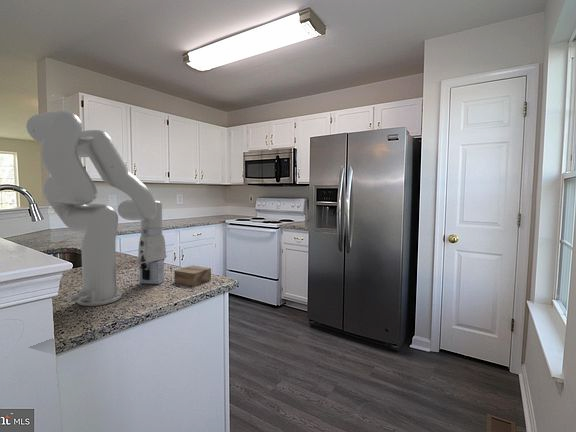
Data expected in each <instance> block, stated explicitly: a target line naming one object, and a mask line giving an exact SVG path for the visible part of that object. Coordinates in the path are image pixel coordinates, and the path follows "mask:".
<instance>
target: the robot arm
mask: <svg viewBox="0 0 576 432" xmlns="http://www.w3.org/2000/svg"><path fill="white" fill-rule="evenodd" d="M25 125H26V130H27V133H28V135H29V136H30V137H31V138H32V139H33V140H34V141H36V142H37V143H40V144H42V145H41V153H40V154H41V159H42V162H43V165H44V167H45V168H46V170H47V171H48V173H49V175H50V177H48V178H47V179H46V180H45V182H44V184H43V194H44V197H45V199H46V201H47V203H49V205H50V206H51V208H52V209H53V211H54V212H55V213H56V215H57V216H58V217H59V219H60V220H61V222H62V223H63V224H64V225H65V226H66V227H67V228H68V229H70V230H72V231H75V232H80V233H84V237H83V239H82V242H81V247H80V248H81V270H82V271H81V274H82V275H81V276H82V288H80V289H79V290H78V292H77V293H76V294H71V295H69V296H67V302H68V303H73V302H75V301H77V304H78V305H80V306H84V307H86V306H87V307H94V306H95V307H96V306H103V305H107V304H111V303H115V302H117V301H119V300H121V298H122V297H123V293H122V292H121V291H119V290H117V288H118V287H117V284H118V283H117V255H116V252H117V251H116V247H117V245H116V244H117V243H116V239H117V230H118V226H119V216H120V217H121V218H122V219H124V220H127V221H140V229H141V230H140V231H139V234H140V235H141V236H140V237H139V241H138V242H139V243H138V253H137V254H138V255H137V256H138V257H137V258H136V261H135V265H137V266H138V267H139V269H140V268H141V270H142V279H143V280H150V270H148V269H149V265H150V263H151V262H155V261H159V260H163V261H164V262H165V259H166V258H167V252H166V241H165V236H164V234H163V203H162V202H161V201H160V200H155V198H154V196H153V195H152V193H151V191H150V189H149V188H148V187H147V186H146V185H145V183H143V182H142V181H141V180H140V179H139V178H137V176H135V175H134V174H133V173H131V172H130V171H129V169H128V168H127V166H126V163H125V162H124V160H123V158H122V156H121V154H120V152H119V151H118V149H117V146H116V145H115V143H114V141H113V138H112V137H111V136H110V135H109V134H108V133H107V132H106V131H103V130H100V129H90V130H89V129H87V130H83V123H82V121H81V118H80V117H79V116H78V115H77V114H75V113H73V112H71V111H67V110H57V111H50V112H49V111H48V112H44V113H37V114H34V115H32V116H31V117H29V118H28V120H27V122H26V124H25ZM80 158H89V159H90V161H91V163H92V164H93V166H94V168H95V169H96V171H97V173H98V175H99V176H100V178H101V179H102V181H103V182H104V183H105V184H107V185H109V186H111V187H112V188H115V189H117V190H119V191H121V192H122V193H124V194H125V195H127V196H128V197H129V198H130V199H126V200H123V201H122V202H120V203H119V204H118V207H117V210H115V209H114V208H113V207H112V206H110V205H107V204H104V203H94V201H95V200H96V199H97V197H98V189H97V187H96V184H95V182H94V181H93V180H92V178H91V176H90V174H89V173H88V171H87V169H86V168H85V166H84V165H83V164H82V160H80ZM116 211H117V212H116ZM145 263H146V266H145Z"/></svg>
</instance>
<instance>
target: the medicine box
mask: <svg viewBox="0 0 576 432" xmlns="http://www.w3.org/2000/svg"><path fill="white" fill-rule="evenodd" d="M164 264H165V260H164V261H163V260H159V261H155V262H151V263H150V265H149V269H148V270H150V280H143V279H142V270H141V268H140V267H139V284H154V285H159V284H162V283H163V282H164V281H165V267H164V266H165V265H164ZM145 266H146V263H145Z"/></svg>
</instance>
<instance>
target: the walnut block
mask: <svg viewBox="0 0 576 432" xmlns="http://www.w3.org/2000/svg"><path fill="white" fill-rule="evenodd" d="M173 271H174V275H173V276H174V283H177V284H181V285H186V286H193V287H194V286H197V285H200V284H202V283H206V282H208V281H211V280H212V268H210V267H205V266H197V265H189V266H186V267H183V268H180V269H175V270H173ZM210 279H211V280H210ZM205 281H206V282H205Z"/></svg>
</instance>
